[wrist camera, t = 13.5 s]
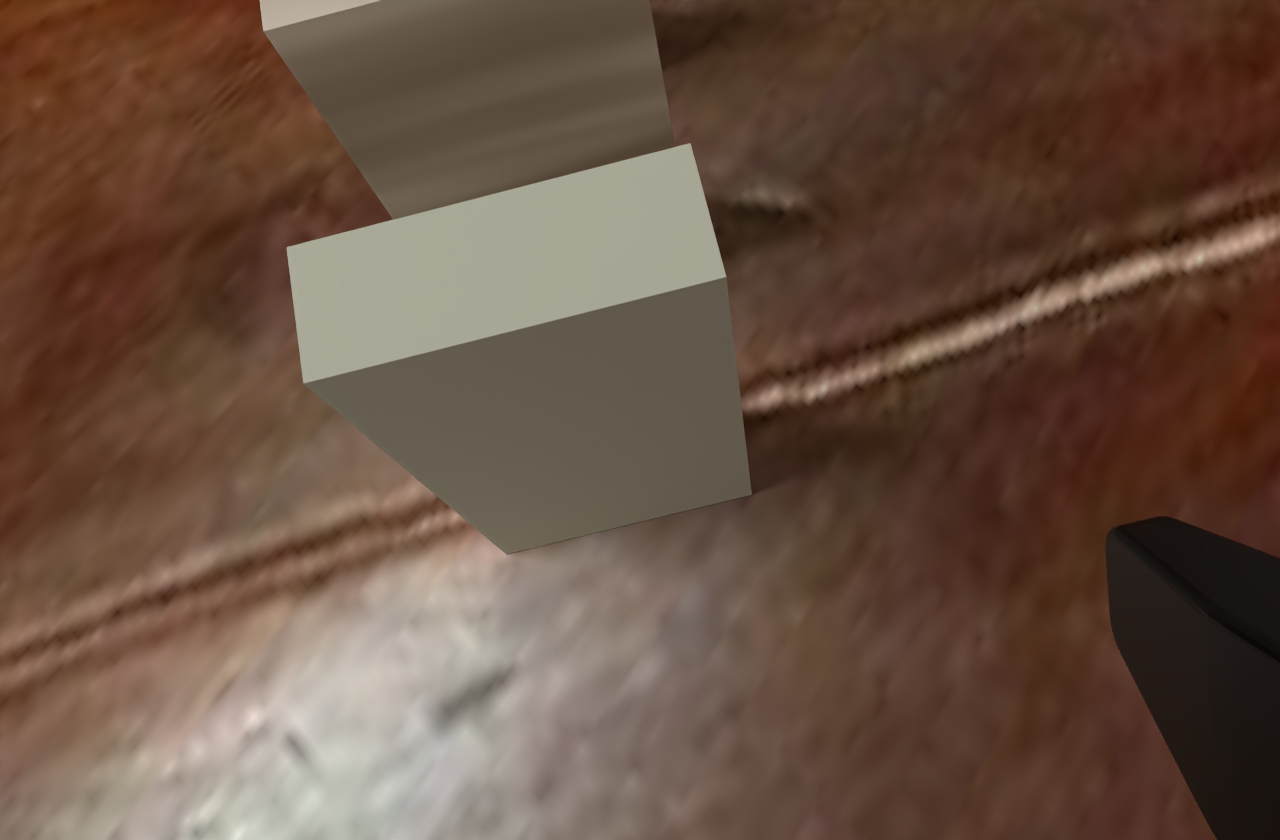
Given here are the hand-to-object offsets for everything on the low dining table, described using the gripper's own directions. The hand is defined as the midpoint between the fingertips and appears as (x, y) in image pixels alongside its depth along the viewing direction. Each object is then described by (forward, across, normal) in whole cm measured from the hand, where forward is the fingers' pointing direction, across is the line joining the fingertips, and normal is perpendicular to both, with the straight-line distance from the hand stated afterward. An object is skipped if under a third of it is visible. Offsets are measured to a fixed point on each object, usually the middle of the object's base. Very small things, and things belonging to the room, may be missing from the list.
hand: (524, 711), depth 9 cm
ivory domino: (+17, 0, +2) cm, 17 cm away
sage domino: (+13, 0, +5) cm, 14 cm away
